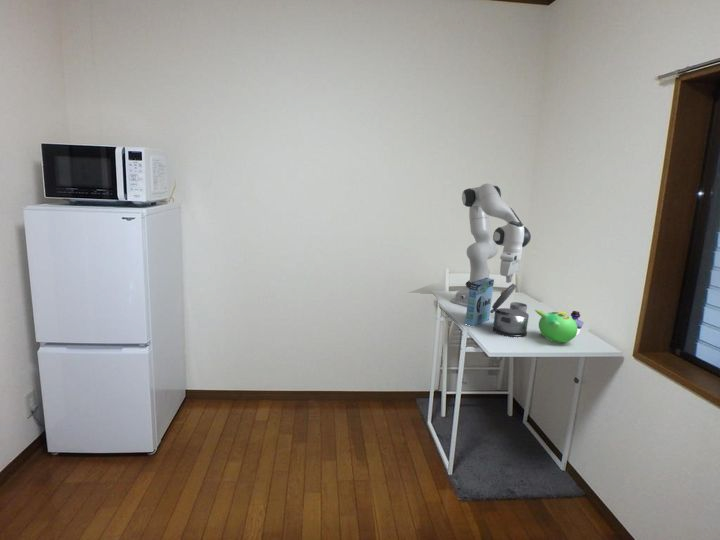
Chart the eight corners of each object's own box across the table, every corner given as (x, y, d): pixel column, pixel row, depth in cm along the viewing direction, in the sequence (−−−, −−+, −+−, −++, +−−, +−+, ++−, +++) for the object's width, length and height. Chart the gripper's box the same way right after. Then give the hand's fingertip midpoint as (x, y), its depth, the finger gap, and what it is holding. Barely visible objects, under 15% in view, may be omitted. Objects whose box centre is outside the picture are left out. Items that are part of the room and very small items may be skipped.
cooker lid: (488, 316, 220) (482, 310, 222) (498, 309, 233) (493, 304, 235) (510, 289, 212) (504, 283, 214) (520, 283, 225) (513, 278, 227)
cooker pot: (486, 333, 220) (488, 313, 218) (499, 323, 237) (501, 305, 235) (520, 341, 210) (523, 321, 208) (531, 330, 228) (534, 312, 226)
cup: (508, 322, 238) (510, 305, 236) (508, 318, 246) (510, 301, 244) (524, 325, 236) (527, 307, 234) (524, 321, 243) (527, 303, 241)
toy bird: (582, 346, 208) (587, 316, 206) (553, 348, 204) (557, 318, 201) (556, 333, 225) (560, 305, 222) (528, 335, 220) (532, 306, 218)
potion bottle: (559, 332, 228) (563, 309, 225) (570, 330, 232) (573, 308, 230) (574, 337, 221) (578, 314, 218) (585, 335, 225) (589, 312, 222)
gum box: (481, 317, 245) (485, 277, 240) (489, 320, 242) (494, 279, 237) (464, 325, 230) (469, 282, 226) (473, 327, 227) (478, 284, 223)
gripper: (511, 252, 228) (508, 278, 231) (499, 256, 211) (495, 284, 214) (524, 253, 224) (520, 280, 227) (512, 258, 208) (508, 286, 211)
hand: (508, 282), depth 220 cm, fingers closed
